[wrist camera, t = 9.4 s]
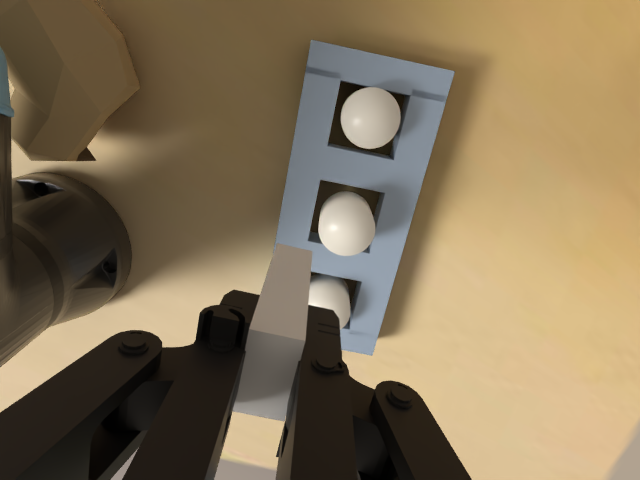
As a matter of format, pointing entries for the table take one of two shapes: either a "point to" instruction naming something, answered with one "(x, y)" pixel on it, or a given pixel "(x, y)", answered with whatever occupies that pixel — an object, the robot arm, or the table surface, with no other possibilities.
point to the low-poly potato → (63, 74)
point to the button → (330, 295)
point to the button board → (361, 173)
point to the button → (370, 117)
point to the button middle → (346, 224)
